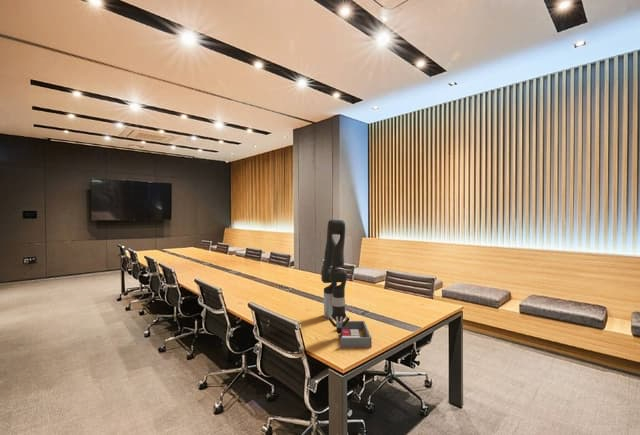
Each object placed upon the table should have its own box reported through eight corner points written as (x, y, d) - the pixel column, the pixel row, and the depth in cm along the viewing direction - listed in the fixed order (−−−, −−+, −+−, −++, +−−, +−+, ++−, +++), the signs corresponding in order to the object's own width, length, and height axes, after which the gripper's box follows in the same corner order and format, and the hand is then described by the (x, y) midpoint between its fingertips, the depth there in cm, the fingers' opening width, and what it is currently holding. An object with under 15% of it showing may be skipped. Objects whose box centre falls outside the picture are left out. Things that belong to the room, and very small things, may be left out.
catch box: (337, 329, 189) (337, 321, 189) (364, 328, 189) (364, 320, 189) (340, 347, 163) (340, 338, 163) (371, 347, 163) (371, 338, 163)
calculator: (358, 328, 181) (361, 337, 166) (358, 335, 181) (361, 345, 166) (340, 328, 181) (341, 337, 166) (340, 335, 181) (341, 345, 166)
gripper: (349, 302, 179) (349, 330, 180) (327, 302, 179) (327, 331, 180) (350, 306, 172) (350, 335, 172) (327, 306, 172) (328, 336, 172)
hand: (339, 333), depth 176 cm, fingers closed
